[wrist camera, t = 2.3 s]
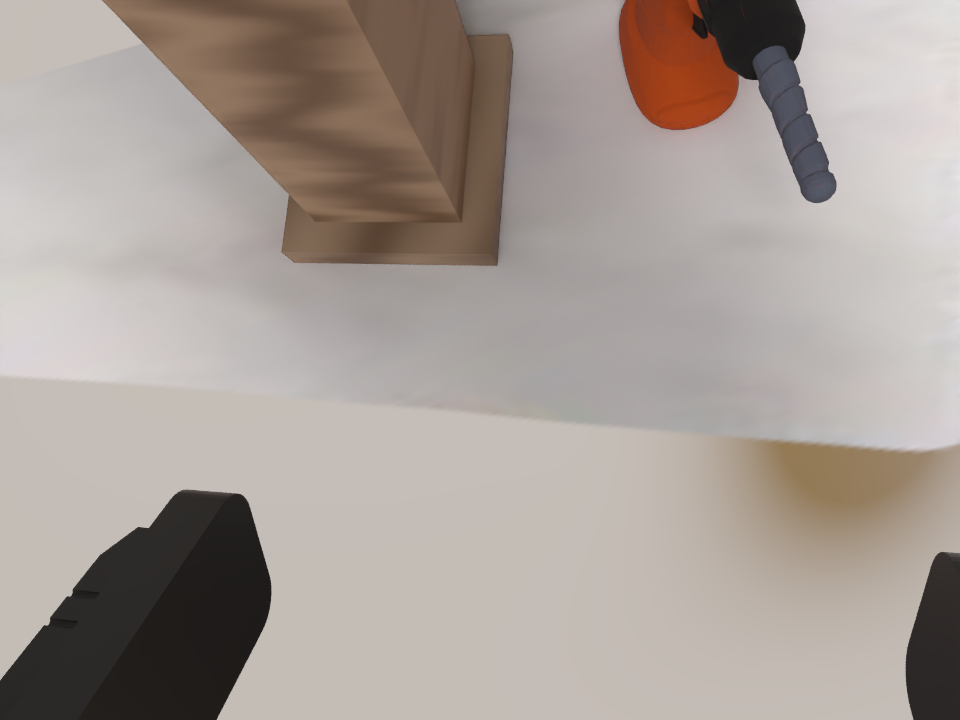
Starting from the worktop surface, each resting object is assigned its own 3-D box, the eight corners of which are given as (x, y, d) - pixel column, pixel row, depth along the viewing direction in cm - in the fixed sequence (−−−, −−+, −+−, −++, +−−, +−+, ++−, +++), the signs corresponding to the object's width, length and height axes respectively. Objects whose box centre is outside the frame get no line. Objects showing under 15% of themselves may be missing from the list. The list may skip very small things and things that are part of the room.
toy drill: (709, 365, 34) (744, 162, 20) (607, 19, 41) (581, -307, 27) (830, 338, 33) (950, 109, 20) (705, -9, 40) (729, -357, 27)
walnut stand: (294, 262, 40) (-80, -56, 19) (320, 59, 42) (13, -427, 21) (497, 265, 38) (331, -85, 17) (512, 52, 41) (385, -488, 19)
